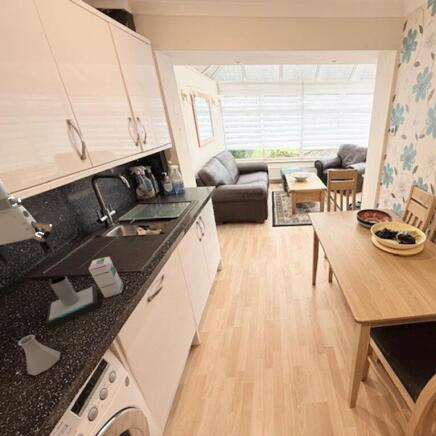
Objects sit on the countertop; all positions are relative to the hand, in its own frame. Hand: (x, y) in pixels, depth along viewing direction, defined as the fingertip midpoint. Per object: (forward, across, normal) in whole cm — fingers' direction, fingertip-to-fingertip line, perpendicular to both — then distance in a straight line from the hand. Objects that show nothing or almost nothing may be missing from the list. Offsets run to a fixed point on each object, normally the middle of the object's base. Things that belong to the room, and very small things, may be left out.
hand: (29, 255), depth 75 cm
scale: (+25, -2, -2) cm, 25 cm away
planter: (+22, -2, -2) cm, 23 cm away
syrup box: (+26, -14, -5) cm, 29 cm away
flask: (+26, 0, +21) cm, 33 cm away
